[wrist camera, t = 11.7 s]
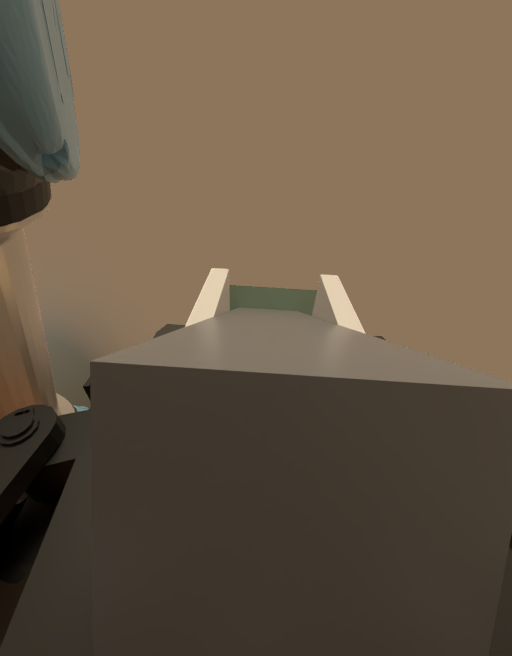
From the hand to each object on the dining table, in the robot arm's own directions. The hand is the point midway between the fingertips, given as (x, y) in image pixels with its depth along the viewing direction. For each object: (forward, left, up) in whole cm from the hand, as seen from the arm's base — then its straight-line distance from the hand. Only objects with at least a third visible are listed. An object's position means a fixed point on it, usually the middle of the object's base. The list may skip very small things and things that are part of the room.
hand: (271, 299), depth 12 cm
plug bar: (-1, +1, -5) cm, 5 cm away
